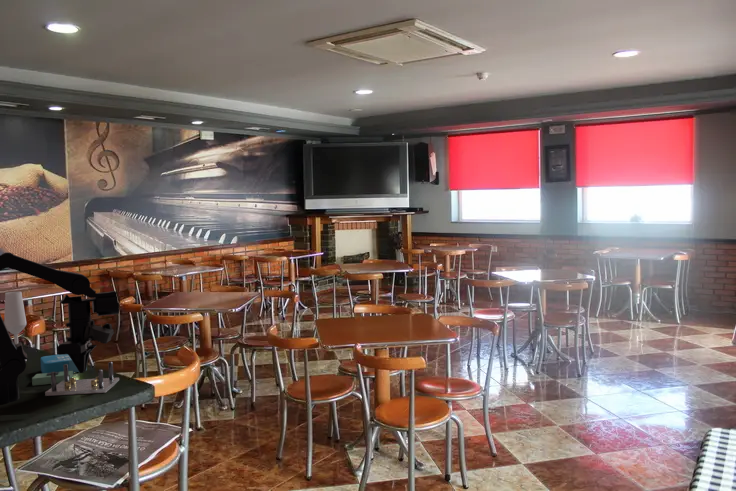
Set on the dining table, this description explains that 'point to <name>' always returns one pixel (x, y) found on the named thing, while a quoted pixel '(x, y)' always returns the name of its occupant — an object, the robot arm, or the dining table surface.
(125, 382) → the dining table surface
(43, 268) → the robot arm
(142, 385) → the dining table surface
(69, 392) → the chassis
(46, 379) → the board
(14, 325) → the champagne flute
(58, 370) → the data package
